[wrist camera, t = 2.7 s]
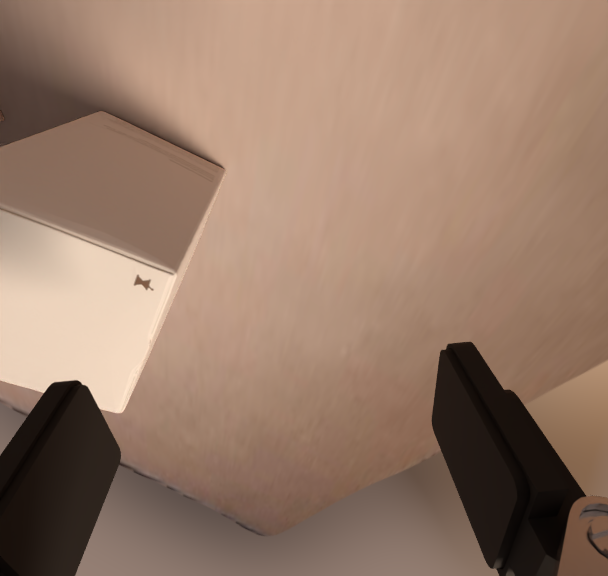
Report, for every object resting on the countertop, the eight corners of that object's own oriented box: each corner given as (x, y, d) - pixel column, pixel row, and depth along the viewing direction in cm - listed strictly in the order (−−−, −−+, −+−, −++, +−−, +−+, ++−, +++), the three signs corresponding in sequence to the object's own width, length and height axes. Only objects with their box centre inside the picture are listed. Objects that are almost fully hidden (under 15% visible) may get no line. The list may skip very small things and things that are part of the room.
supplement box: (98, 104, 25) (-93, 163, 12) (229, 168, 28) (184, 273, 15) (70, 223, 29) (-96, 360, 16) (186, 270, 32) (122, 420, 19)
